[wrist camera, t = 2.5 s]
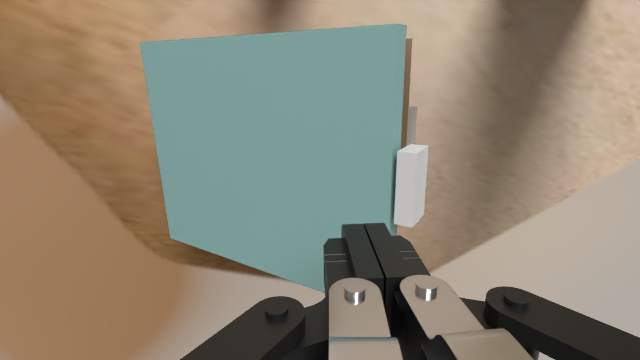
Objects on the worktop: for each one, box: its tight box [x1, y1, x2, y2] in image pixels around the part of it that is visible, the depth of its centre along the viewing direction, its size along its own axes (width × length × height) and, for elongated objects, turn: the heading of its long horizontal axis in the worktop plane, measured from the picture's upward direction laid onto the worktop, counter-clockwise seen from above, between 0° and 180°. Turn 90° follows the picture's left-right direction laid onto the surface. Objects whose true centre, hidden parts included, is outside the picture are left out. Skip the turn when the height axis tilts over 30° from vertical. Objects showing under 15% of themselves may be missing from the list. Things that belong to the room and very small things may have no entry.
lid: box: [140, 24, 429, 293], centre depth 25 cm, size 21×16×2 cm
